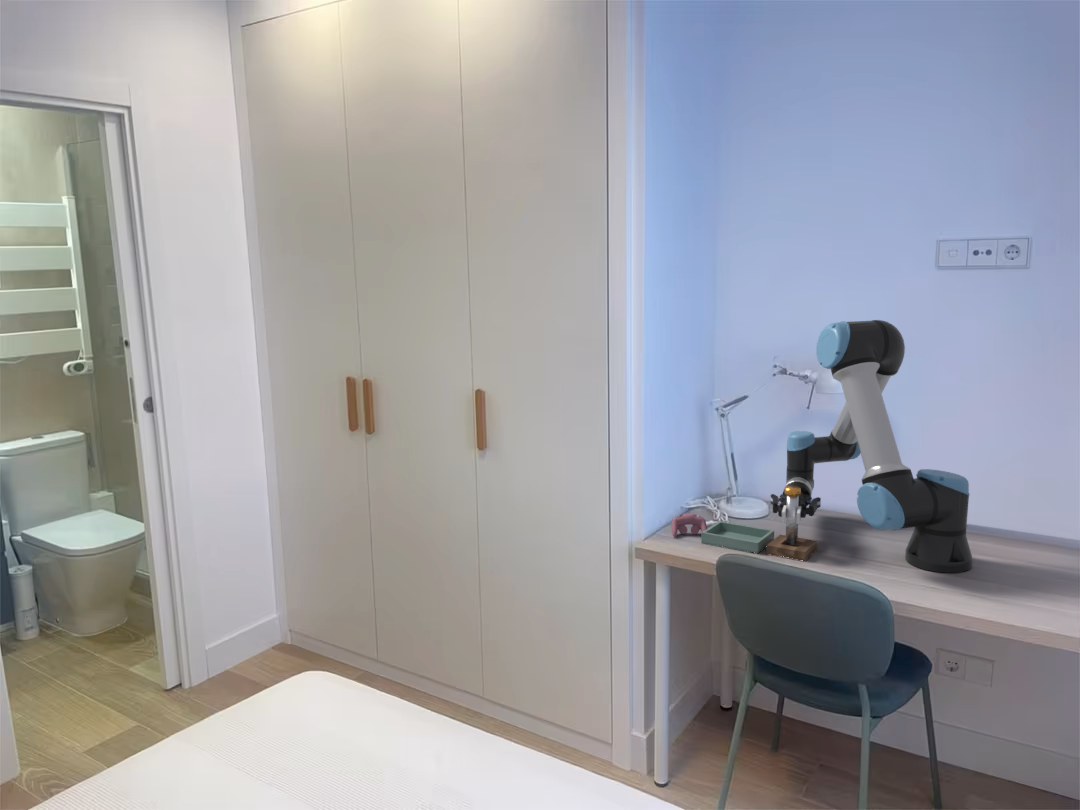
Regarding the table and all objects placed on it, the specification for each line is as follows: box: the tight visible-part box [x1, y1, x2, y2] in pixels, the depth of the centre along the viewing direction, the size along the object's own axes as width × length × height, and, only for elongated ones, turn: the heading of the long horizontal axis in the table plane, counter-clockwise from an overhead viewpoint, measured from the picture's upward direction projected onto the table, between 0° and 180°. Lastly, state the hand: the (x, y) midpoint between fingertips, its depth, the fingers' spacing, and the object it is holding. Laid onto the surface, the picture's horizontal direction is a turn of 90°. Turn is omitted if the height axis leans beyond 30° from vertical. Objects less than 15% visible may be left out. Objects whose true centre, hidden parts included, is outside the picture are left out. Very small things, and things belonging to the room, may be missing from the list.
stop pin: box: [784, 486, 801, 545], centre depth 215 cm, size 4×4×15 cm
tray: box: [700, 520, 775, 554], centre depth 225 cm, size 16×12×3 cm
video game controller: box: [671, 513, 708, 538], centre depth 232 cm, size 10×5×7 cm, turn 85°
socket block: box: [765, 534, 818, 562], centre depth 216 cm, size 10×10×2 cm
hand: (790, 517), depth 210 cm, fingers closed on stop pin, 3 cm apart
